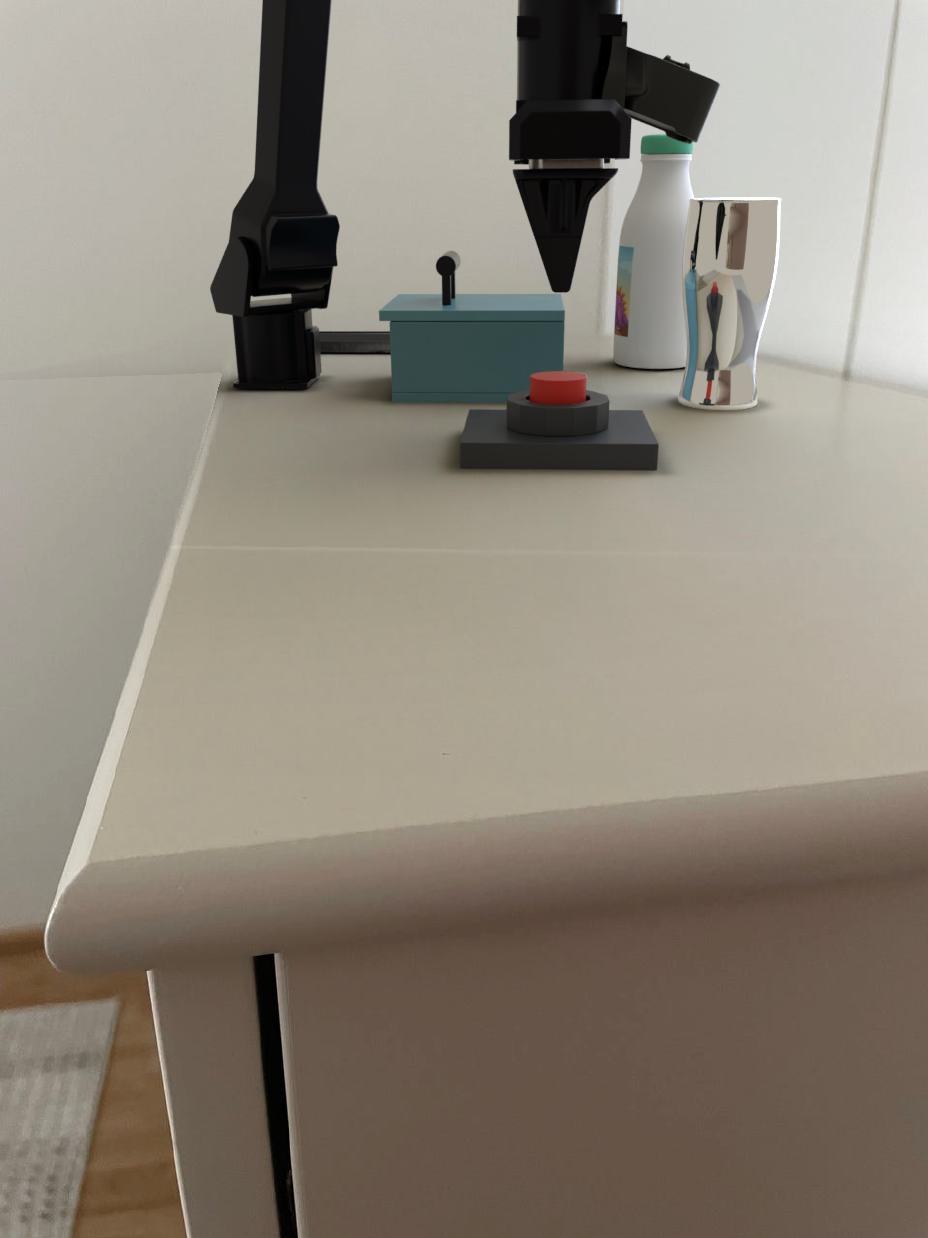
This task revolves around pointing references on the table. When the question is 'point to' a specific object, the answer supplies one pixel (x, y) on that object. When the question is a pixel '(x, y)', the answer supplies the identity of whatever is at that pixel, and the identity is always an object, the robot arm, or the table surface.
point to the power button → (558, 387)
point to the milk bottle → (654, 260)
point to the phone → (354, 341)
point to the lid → (470, 303)
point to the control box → (558, 436)
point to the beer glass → (726, 297)
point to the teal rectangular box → (471, 358)
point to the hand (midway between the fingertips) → (560, 291)
